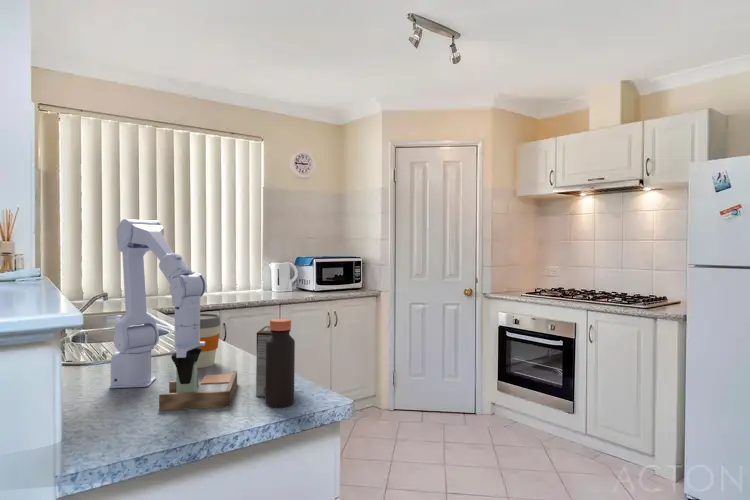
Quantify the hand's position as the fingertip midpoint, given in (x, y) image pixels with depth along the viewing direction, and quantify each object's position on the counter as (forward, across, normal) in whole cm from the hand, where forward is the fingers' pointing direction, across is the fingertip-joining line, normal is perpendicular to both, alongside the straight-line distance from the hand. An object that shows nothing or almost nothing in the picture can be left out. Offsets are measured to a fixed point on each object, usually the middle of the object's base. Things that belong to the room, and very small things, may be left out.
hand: (187, 380), depth 117 cm
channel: (+5, +4, -3) cm, 7 cm away
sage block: (+3, 0, 0) cm, 3 cm away
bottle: (+5, -5, -22) cm, 23 cm away
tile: (+5, +18, -5) cm, 19 cm away
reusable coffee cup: (+5, +36, +3) cm, 36 cm away
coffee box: (+5, +5, -20) cm, 21 cm away
